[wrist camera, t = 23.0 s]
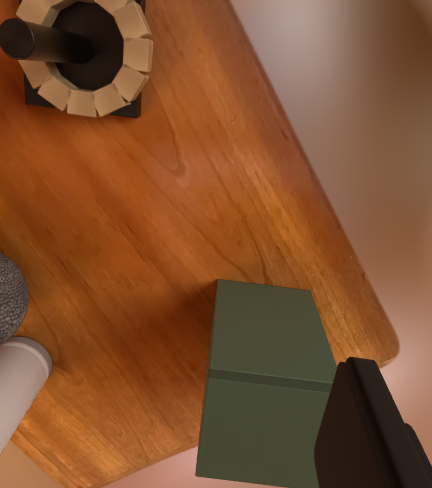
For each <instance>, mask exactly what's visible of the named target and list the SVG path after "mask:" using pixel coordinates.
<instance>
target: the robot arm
mask: <svg viewBox="0 0 432 488" xmlns="http://www.w3.org/2000/svg"><path fill="white" fill-rule="evenodd" d="M314 462H315V468H316V473H317V479H318V484H319V488H432V466H431V464H430V462H429V460H428V458H427V456H426V454H425V452H424V450H423V447H422V445H421V443H420V441H419V439H418V438H417V435H416V433H415V431H414V430H413V428H412V427H411V426H410V425H409V424H407V423H404V422H403V419H402V417H401V415H400V413H399V411H398V409H397V406H396V405H395V402H394V400H393V398H392V396H391V393H390V392H389V389H388V387H387V385H386V383H385V381H384V378H383V376H382V374H381V372H380V370H379V368H378V366H377V364H376V362H375V361H374V360H369V359H362V358H355V357H349V358H348V359H347V360H346V362H340V363H339V364H338V367H337V370H336V374H335V377H334V380H333V384H332V387H331V391H330V394H329V398H328V401H327V404H326V408H325V411H324V415H323V418H322V422H321V425H320V429H319V432H318V435H317V439H316V442H315V447H314Z"/></svg>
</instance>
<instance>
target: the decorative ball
mask: <svg viewBox="0 0 432 488" xmlns="http://www.w3.org/2000/svg"><path fill="white" fill-rule="evenodd" d="M27 307H28V288H27V284H26V281H25V278H24V276H23V274H22V272H21V271H20V269H19V268H18V266H17V265H16V264H15V263H14V262H13V261H12V260H11V259H10V258H9V257H8V256H6V255H5V254H3V253H2V252H0V347H1V346H2V345H3V344H5V343H6V342H7V341H8V340H9V339H10V338H11V337H12V336H13V335H14V334H15V333H16V331H17V330H18V328H19V327H20V325H21V324H22V322H23V320H24V317H25V315H26V312H27Z"/></svg>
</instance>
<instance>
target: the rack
mask: <svg viewBox="0 0 432 488" xmlns="http://www.w3.org/2000/svg"><path fill="white" fill-rule="evenodd" d="M21 2H22V0H20V4H21ZM135 2H136V3H138V4H139V5H140V7H141V9H142V11H143V14H144V16H145V0H136V1H135ZM0 46H1V48H2V50H3V51H4V52H5V53H6V54H7V55H8V56H9V57H11V58H13V59H17V60H29V61H45V62H54V63H55V65H56V67H57V69H58V71H59V72H60V74H61V76H63V77H64V78H65V79H67V80H68V81H69V82H71V83H72V84H73V85H75V86H76V87H77V88H79V89H86V90H93V91H96V90H98V89H100V88H102V87H104V86H107V85H109V84H111V83H112V81H113V80H114V78H115V76H116V75H117V73H118V72H119V70H120V68H121V67H122V65H123V48H124V39H123V37H122V35H121V33H120V30H119V28H118V26H117V24H116V21H115V19H114V17H113V16H112V15H111V14H110V13H108V12H107V11H106V10H105V9H104V8H102V7H101V6H100V5H99V4H96V3H89V2H82V1H78V2H76V3H74V4H72V5H70V6H68V7H66V8H64V9H62V10H60V12H59V13H58V15H57V17H56V19H55V21H54V23H53V25H52V27H48V26H44V25H40V24H36V23H32V22H28V21H24V20H22V19H21V20H20V19H15V18H11V19H7V20H5V21H4V22H3V23H2V24H1V25H0ZM24 83H25V100H26V104H27V105H35V106H43V107H51V108H57V107H55V106H54V105H53V104H51V103H50V102H49V101H47V100H46V99H45V98H43V97H42V96H40V95H39V94H38V91H39V89H40V88H36V89H33V87H32V85H31V83H30V82H29V80H28V78H27V76H26V74H25V72H24ZM130 103H131V104H130V105H128V106H126V107H123V108H121V109H119V110H117V111H115V112H112V113H110V114H108V115H116V116H125V117H133V118H138V117H140V114H141V92H140V93H139V95H138V96H137V98H136V99H135V100H134V101H131V102H130Z"/></svg>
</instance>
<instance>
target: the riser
mask: <svg viewBox="0 0 432 488" xmlns="http://www.w3.org/2000/svg"><path fill="white" fill-rule="evenodd" d="M336 370H337V366H336V363H335V360H334V357H333V354H332V351H331V348H330V345H329V342H328V339H327V336H326V334H325V331H324V328H323V325H322V322H321V319H320V316H319V313H318V310H317V307H316V304H315V302H314V299H313V296H312V293H311V291H310V290H302V289H294V288H286V287H278V286H269V285H261V284H253V283H245V282H237V281H229V280H220V279H218V280H217V286H216V294H215V302H214V310H213V317H212V325H211V333H210V341H209V348H208V356H207V366H206V376H205V386H204V395H203V405H202V415H201V425H200V435H199V444H198V454H197V465H196V474H195V476H197V477H206V478H214V479H222V480H230V481H239V482H247V483H255V484H263V485H271V486H279V487H287V488H319V484H318V479H317V473H316V468H315V462H314V447H315V442H316V439H317V435H318V432H319V429H320V425H321V422H322V418H323V415H324V411H325V408H326V404H327V401H328V398H329V394H330V391H331V387H332V384H333V380H334V377H335V374H336Z"/></svg>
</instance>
